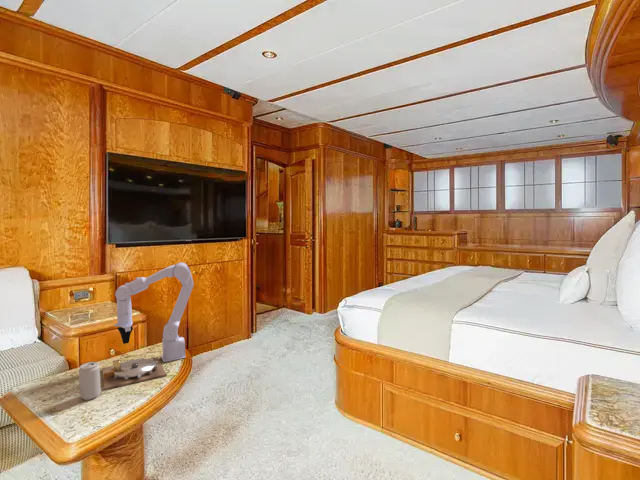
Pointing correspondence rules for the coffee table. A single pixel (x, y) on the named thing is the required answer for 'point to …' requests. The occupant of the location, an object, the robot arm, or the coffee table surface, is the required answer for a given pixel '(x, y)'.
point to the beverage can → (89, 380)
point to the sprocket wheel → (133, 368)
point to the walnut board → (114, 383)
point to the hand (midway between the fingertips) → (125, 343)
